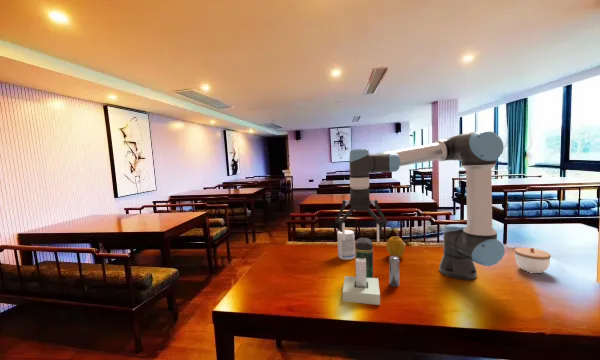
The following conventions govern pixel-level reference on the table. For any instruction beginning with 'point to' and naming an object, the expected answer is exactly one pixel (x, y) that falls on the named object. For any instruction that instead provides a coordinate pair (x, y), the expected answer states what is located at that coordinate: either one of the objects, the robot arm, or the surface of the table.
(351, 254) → the supplement tub
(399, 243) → the apple
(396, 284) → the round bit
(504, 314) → the table surface
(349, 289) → the socket block
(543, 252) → the dishware bowl
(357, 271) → the square bit
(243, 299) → the table surface
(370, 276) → the coffee jar
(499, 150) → the robot arm
